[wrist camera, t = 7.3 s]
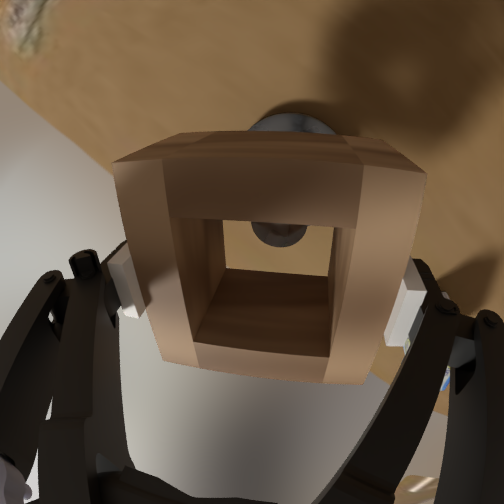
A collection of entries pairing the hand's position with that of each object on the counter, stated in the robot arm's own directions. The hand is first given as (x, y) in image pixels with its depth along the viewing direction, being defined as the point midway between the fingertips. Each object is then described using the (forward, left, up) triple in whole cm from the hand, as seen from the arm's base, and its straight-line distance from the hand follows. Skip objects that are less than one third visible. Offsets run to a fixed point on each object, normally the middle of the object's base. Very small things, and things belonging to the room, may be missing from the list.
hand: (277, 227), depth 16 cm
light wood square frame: (0, 0, 0) cm, 0 cm away
